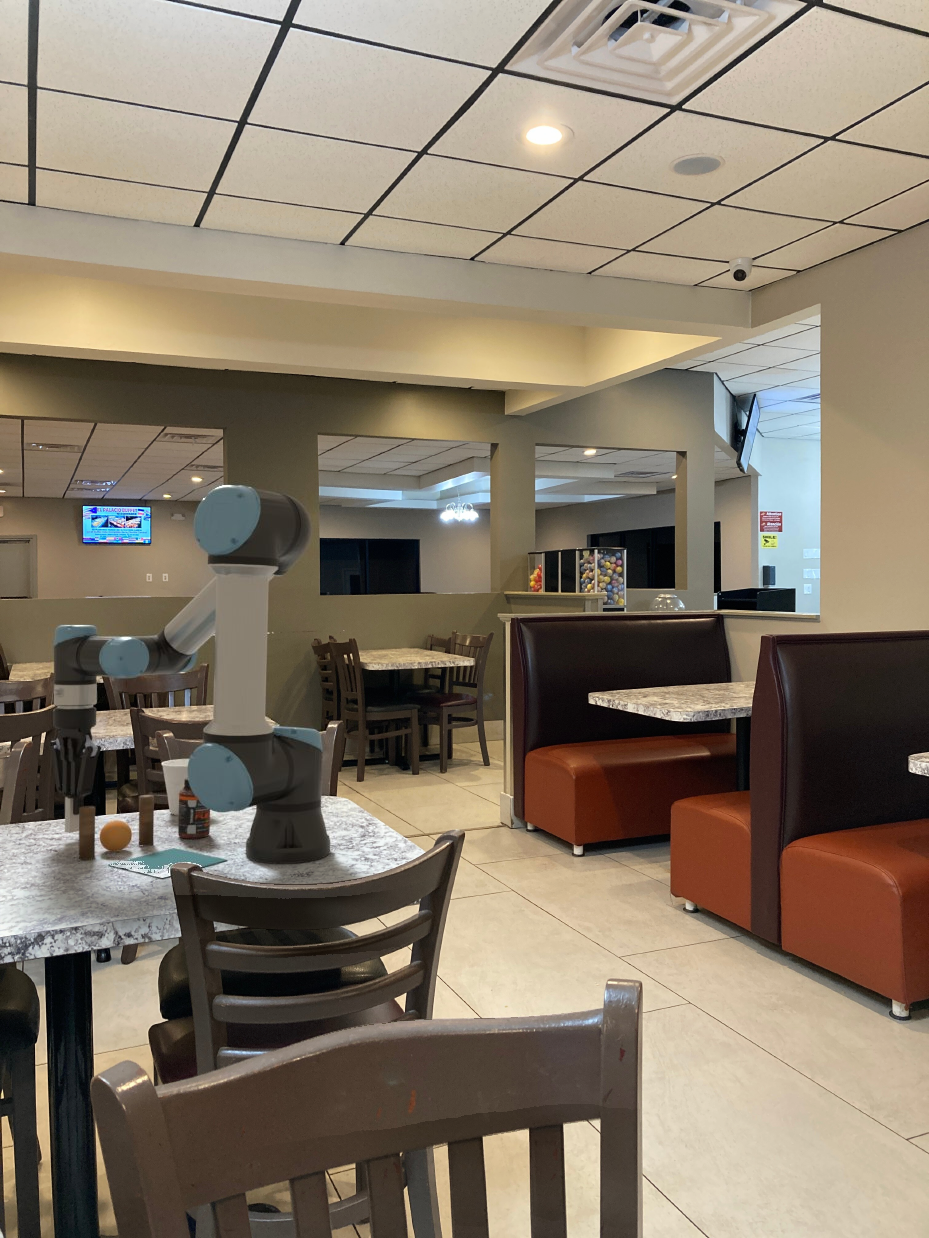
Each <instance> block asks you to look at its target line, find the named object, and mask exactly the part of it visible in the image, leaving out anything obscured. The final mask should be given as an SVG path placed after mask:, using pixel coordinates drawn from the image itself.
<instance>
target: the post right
mask: <svg viewBox="0 0 929 1238" xmlns="http://www.w3.org/2000/svg"><path fill="white" fill-rule="evenodd" d="M138 806H139V807H138V808H139V809H138V846H140V845H143V846H142V847H148V845H150V846H153V845H154V832H155V831H154V828H155V827H154V825H155V824H154V823H155V821H154V820H155V817H154V815H155V809H154V807H155V795H153V794H144V795H140V796H139V797H138Z"/></svg>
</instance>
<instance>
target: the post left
mask: <svg viewBox="0 0 929 1238" xmlns="http://www.w3.org/2000/svg"><path fill="white" fill-rule="evenodd" d="M95 846H96V806H95V805H84V806H83V807H80V808H79V831H78V860H79V861H91V859H92V860H94V859H95V857H96V855H95V853H96V852H95V849H96V847H95Z"/></svg>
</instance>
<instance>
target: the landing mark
mask: <svg viewBox="0 0 929 1238" xmlns="http://www.w3.org/2000/svg"><path fill="white" fill-rule="evenodd" d="M129 859H130V860H129ZM129 859H125V860H123V861H133V862H134V861H135V862H136V861H142V863H141V862H140V863H139V862H138V865H139V864H140V865H146V866H145V867H144V869H150V871H149V870H148V872H147V873H152V872H151V869H162V866H163V869H164V865H168V864H170V863H172V864H175V863H178V862H191V863H196V864H199V865H201V866H202V867H203V869H204V868H206V867H207V868H208V867H210V866H215V865H217V864H221V863H225V862H227V861H228V859H225V858H221V857H217V856H212V855H207V854H202V853H198V852H194V851H189V850H184V849H181V848H177V847H176V848H175V847H173V848H169V849H166V850H161V851H157V852H154V853H150V854H149V853H148V854H145V855H140V856H137V857H132V858H129ZM143 861H144V862H143ZM118 862H119V861H117V863H118ZM117 863H116V862H113V865H114V864H115V865H118V864H119V863H118V864H117ZM143 863H144V864H143ZM110 864H111V865H112V863H109V864H108V865H110ZM120 864H121V863H120ZM133 864H134V863H133ZM133 864H132V863H131V865H133ZM172 864H170V865H169V867H170V866H171V865H172ZM121 865H126V864H125V863H124V864H123V863H122V864H121ZM127 865H128V864H127ZM129 865H130V864H129ZM134 865H135V864H134ZM136 865H137V864H136ZM147 865H148V866H149V868H148V866H147ZM158 866H159V867H158ZM169 867H168V868H167V869H168V873H169ZM124 869H126V868H124ZM124 869H123V870H124ZM130 869H132V867H131V868H130ZM138 869H139V868H138ZM140 869H143V867H142V868H140ZM144 873H145V872H144ZM154 873H155V870H154ZM158 873H159V872H158Z"/></svg>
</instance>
